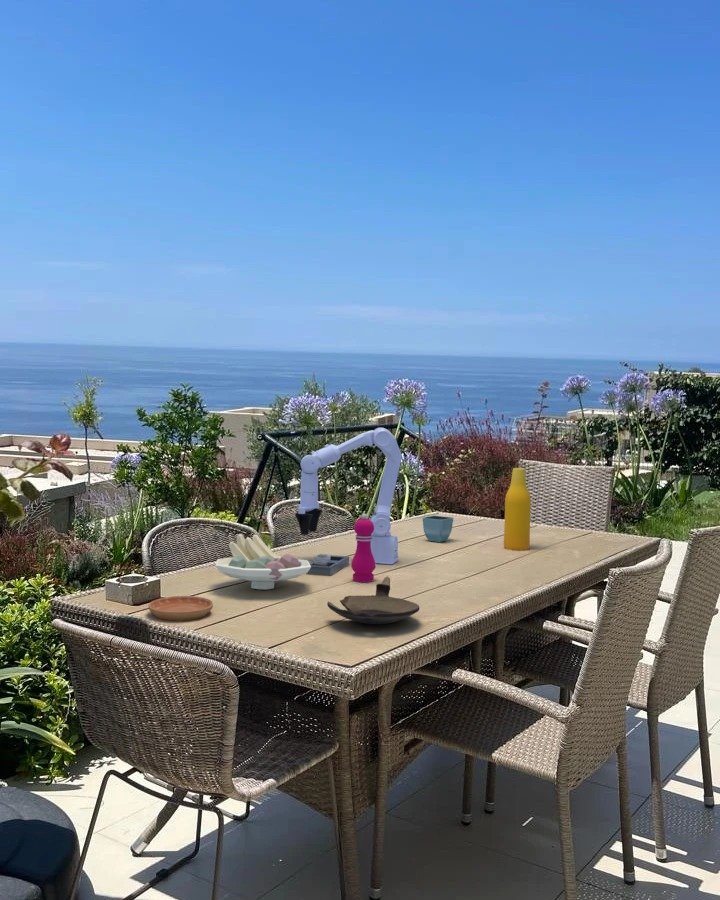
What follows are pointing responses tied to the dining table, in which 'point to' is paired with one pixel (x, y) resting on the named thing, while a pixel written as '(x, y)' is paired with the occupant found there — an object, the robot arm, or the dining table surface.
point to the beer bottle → (517, 513)
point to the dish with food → (260, 563)
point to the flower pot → (437, 528)
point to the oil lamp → (376, 607)
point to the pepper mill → (363, 551)
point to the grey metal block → (322, 560)
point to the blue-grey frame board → (336, 565)
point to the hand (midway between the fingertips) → (308, 532)
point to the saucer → (180, 607)
